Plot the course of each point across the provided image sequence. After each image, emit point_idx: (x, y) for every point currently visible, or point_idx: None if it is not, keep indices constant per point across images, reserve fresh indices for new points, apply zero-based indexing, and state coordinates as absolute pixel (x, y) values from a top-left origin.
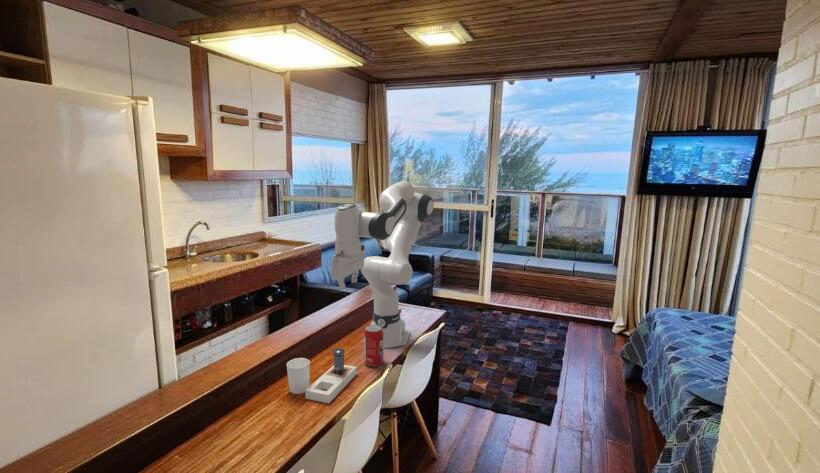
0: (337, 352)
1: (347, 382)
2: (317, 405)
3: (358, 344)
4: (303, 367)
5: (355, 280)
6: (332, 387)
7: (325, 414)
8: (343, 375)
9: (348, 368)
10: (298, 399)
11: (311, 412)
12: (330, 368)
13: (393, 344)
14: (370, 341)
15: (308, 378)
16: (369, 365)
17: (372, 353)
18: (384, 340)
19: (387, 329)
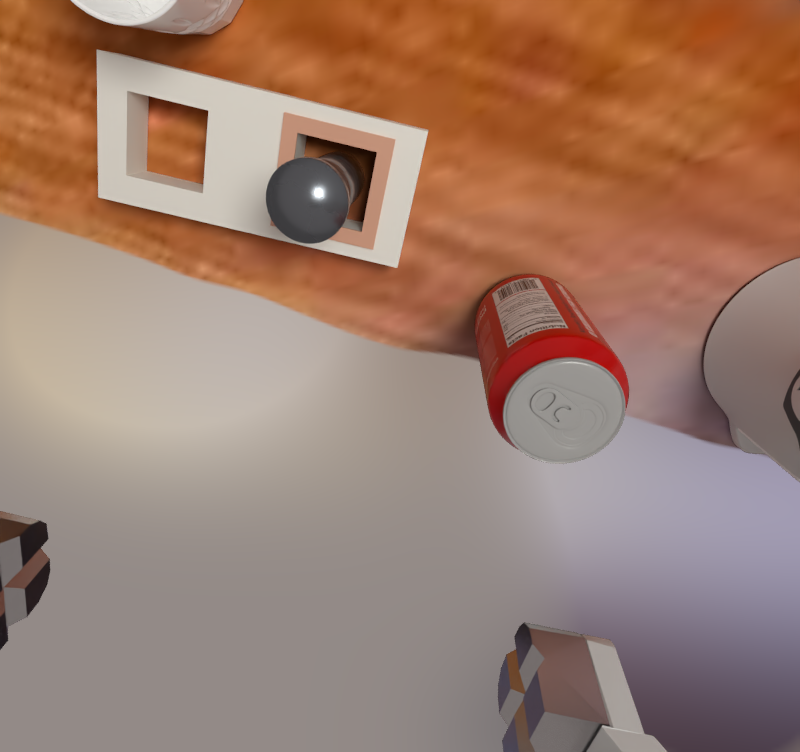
0: (281, 200)
1: None
2: (89, 140)
3: (787, 181)
4: (72, 1)
5: (507, 732)
6: (168, 195)
7: (43, 201)
8: None
9: (368, 229)
10: None
11: (31, 131)
12: (358, 118)
13: (721, 398)
14: (485, 373)
15: (166, 32)
16: (478, 309)
17: (478, 352)
18: (735, 363)
19: (777, 411)
